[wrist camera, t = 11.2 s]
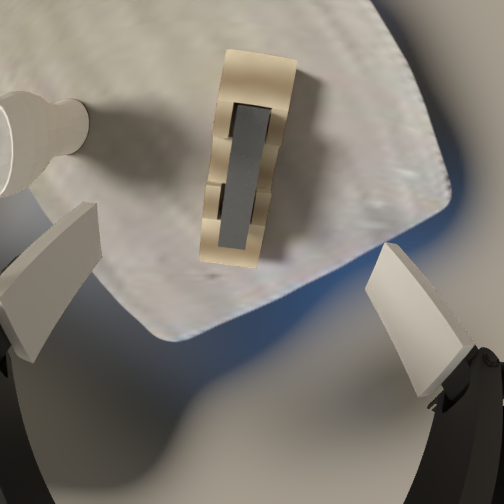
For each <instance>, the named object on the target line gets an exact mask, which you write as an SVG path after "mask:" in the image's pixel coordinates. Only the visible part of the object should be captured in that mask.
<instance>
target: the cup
mask: <svg viewBox="0 0 504 504" xmlns="http://www.w3.org/2000/svg"><path fill="white" fill-rule="evenodd" d="M88 130H89V118H88V113H87V111H86V108H85V107H84V106H83V104H82V103H81V102H79V101H78V100H75V99H66V100H62V101H59V102H56V103H53V104H50V103H48V102H47V101H46V100H44V99H43V98H41V97H40V96H37V95H35V94H32V93H30V92H25V91H16V92H8V93H5V94H2V95H0V198H2V197H7V196H11V195H13V194H15V193H18V192H19V191H21V190H23V189H24V188H26V187H28V186H29V185H30V184H31V183H33V182H34V181H35V180H36V179H37V178H38V176H39V175H40V174H41V173H42V172H43V171H44V170H45V168H46V167H47V165H48V164H49V162H50V161H51V159H52V158H53V157H55V156H62V155H68V154H71V153H74V152H75V151H77V150H78V149H79V148H80V147H81V146H82V144H83V143H84V141H85V139H86V137H87V134H88Z"/></svg>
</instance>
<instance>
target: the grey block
mask: <svg viewBox="0 0 504 504" xmlns="http://www.w3.org/2000/svg"><path fill="white" fill-rule="evenodd" d="M269 114H270V110H268V109H263V108H257V107H250V106H243V105H238V108H237V114H236V120H235V126H234V132H233V138H232V145H231V151H230V158H229V165H228V172H227V179H226V186H225V193H224V200H223V208H222V216H221V224H220V232H219V240H218V247H225V248H233V249H241V250H245V247H246V242H247V236H248V230H249V225H250V219H251V213H252V208H253V202H254V196H255V191H256V185H257V180H258V174H259V169H260V163H261V157H262V152H263V146H264V141H265V136H266V130H267V125H268V119H269Z"/></svg>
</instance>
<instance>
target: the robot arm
mask: <svg viewBox="0 0 504 504" xmlns="http://www.w3.org/2000/svg"><path fill="white" fill-rule="evenodd" d="M101 258H102V252H101V244H100V235H99V225H98V213H97V203H88V202H83V203H81V204H80V205H79V206H77V207H76V208H75V209H73V210H72V211H71V212H69V213H68V214H67V215H66V216H64V217H63V218H62V219H61V220H59V221H58V222H57V223H56V224H55V225H53V226H52V227H51V228H50V229H49V230H47V231H46V232H45V233H44V234H43V235H42V236H41V237H39V238H38V239H37V240H36V241H35V242H34V243H33V244H32V245H31V246H29V247H28V248H27V249H26V250H25V251H24V252H23V253H22V254H20V255H19V256H17V257H15V258H14V259H13V260H12V261H11V262H10V263H9V264H8V265H7V267H5V268H4V269H3V270H2V272H1V274H0V504H55V502H54V500H53V498H52V496H51V494H50V492H49V490H48V488H47V486H46V484H45V481H44V479H43V477H42V475H41V472H40V470H39V467H38V465H37V462H36V460H35V457H34V455H33V452H32V449H31V446H30V443H29V440H28V436H27V433H26V430H25V426H24V423H23V420H22V415H21V411H20V407H19V403H18V398H17V394H16V388H15V383H14V377H13V371H12V363H11V357H10V354H9V353H8V349H9V348H10V346H12V347H13V349H14V351H15V352H16V354H17V355H18V357H20V358H22V359H24V360H27V361H29V362H31V363H34V361H35V359H36V357H37V355H38V354H39V352H40V350H41V348H42V346H43V345H44V343H45V341H46V339H47V338H48V336H49V334H50V332H51V331H52V329H53V328H54V326H55V324H56V323H57V321H58V320H59V318H60V316H61V315H62V313H63V312H64V310H65V308H66V307H67V306H68V304H69V303H70V301H71V300H72V298H73V297H74V295H75V294H76V292H77V291H78V289H79V288H80V286H81V285H82V284H83V282H84V281H85V279H86V278H87V277H88V275H89V274H90V273H91V271H92V270H93V269H94V267H95V266H96V265H97V263H98V262H99V261H100V259H101ZM365 291H366V292H367V294H368V296H369V298H370V300H371V301H372V303H373V305H374V307H375V309H376V310H377V313H378V315H379V316H380V318H381V320H382V322H383V324H384V326H385V328H386V330H387V332H388V334H389V336H390V338H391V340H392V342H393V344H394V346H395V348H396V350H397V352H398V354H399V356H400V358H401V360H402V363H403V365H404V367H405V369H406V371H407V373H408V375H409V378H410V380H411V382H412V384H413V387H414V389H415V392H416V394H417V396H418V397H423V396H427V395H431V394H432V393H433V392H434V391H435V390H436V389H437V388H438V387H439V386H440V385H442V387H443V389H444V390H443V391H442V392H441V393H440V394H439V395H438V396H437V397H436V398H435V399H434V400H433V401H432V402H431V403H430V404H429V405H428V407H427V408H428V409H430V407H432V406H433V405H434V404H437V406H435V407H434V408H433V409H432V411H434V412H435V414H434V419H433V423H432V427H431V430H430V434H429V437H428V441H427V444H426V448H425V450H424V453H423V456H422V459H421V462H420V465H419V468H418V471H417V473H416V476H415V478H414V481H413V483H412V485H411V488H410V491H409V492H408V495H407V497H406V499H405V501H404V503H403V504H504V406H503V399H504V362H500V361H499V359H498V358H497V356H496V355H495V354H494V353H493V352H492V351H491V350H490V349H488V348H485V347H481V348H480V349H478V348H477V347H476V345H475V343H474V341H473V340H472V338H471V337H470V336H469V334H468V332H467V331H466V330H465V328H464V327H463V325H462V324H461V322H460V321H459V320H458V319H457V317H456V316H455V314H454V313H453V311H452V310H451V309H450V308H449V306H448V305H447V303H446V302H445V301H444V300H443V298H442V297H441V296H440V294H439V293H438V292H437V291H436V289H435V288H434V287H433V286H432V285H431V283H430V282H429V281H428V279H427V278H426V277H425V276H424V275H423V273H422V272H421V271H420V270H419V269H418V268H417V266H416V265H415V264H414V263H413V262H412V261H411V259H410V258H409V257H408V256H407V255H406V254H405V253H404V252H403V250H402V249H401V248H400V247H399V246H398V245H397V244H392V243H386V242H385V243H384V246H383V248H382V251H381V253H380V256H379V258H378V261H377V263H376V265H375V267H374V270H373V272H372V274H371V277H370V279H369V281H368V283H367V286H366V288H365Z"/></svg>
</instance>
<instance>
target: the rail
mask: <svg viewBox="0 0 504 504" xmlns="http://www.w3.org/2000/svg"><path fill="white" fill-rule="evenodd" d="M297 63H298V61H297V60H292V59H288V58H283V57H278V56H273V55H267V54H261V53H255V52H248V51H240V50H231V49H227V50H226V55H225V60H224V66H223V71H222V77H221V82H220V88H219V94H218V100H217V106H216V113H215V119H214V126H213V133H212V136H213V143H212V150H211V158H210V166H209V174H208V182H207V184H206V188H205V197H204V207H203V217H202V228H201V240H200V252H199V261H203V262H210V263H218V264H226V265H234V266H242V267H250V268H257V265H258V260H259V255H260V250H261V245H262V240H263V235H264V231H265V226H266V221H267V216H268V211H269V206H270V201H271V196H272V193H271V185H272V180H273V175H274V170H275V165H276V160H277V155H278V150H279V146H282V141H283V136H284V130H285V125H286V120H287V115H288V110H289V105H290V99H291V94H292V89H293V84H294V79H295V73H296V68H297ZM238 105H243V106H250V107H257V108H263V109H268V110H270V114H269V119H268V125H267V130H266V136H265V141H264V146H263V152H262V157H261V163H260V169H259V174H258V180H257V185H256V191H255V196H254V202H253V208H252V213H251V219H250V225H249V230H248V236H247V242H246V247H245V250H241V249H233V248H225V247H218V240H219V232H220V224H221V216H222V208H223V200H224V193H225V186H226V179H227V172H228V165H229V158H230V151H231V145H232V138H233V132H234V126H235V120H236V114H237V108H238Z"/></svg>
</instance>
